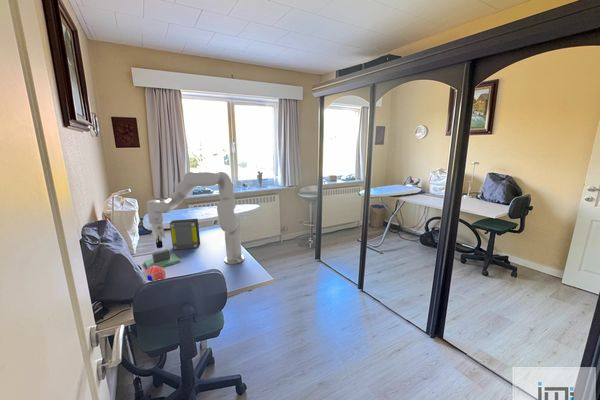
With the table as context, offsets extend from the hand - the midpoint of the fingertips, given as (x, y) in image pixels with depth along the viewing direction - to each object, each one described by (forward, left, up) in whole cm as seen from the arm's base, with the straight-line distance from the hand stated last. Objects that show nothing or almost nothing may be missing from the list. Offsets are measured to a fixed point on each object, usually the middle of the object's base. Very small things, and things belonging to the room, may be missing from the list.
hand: (159, 247), depth 168 cm
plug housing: (0, 0, -9) cm, 9 cm away
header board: (0, 0, -11) cm, 11 cm away
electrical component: (+16, -21, -11) cm, 29 cm away
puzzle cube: (-24, +10, -11) cm, 28 cm away
